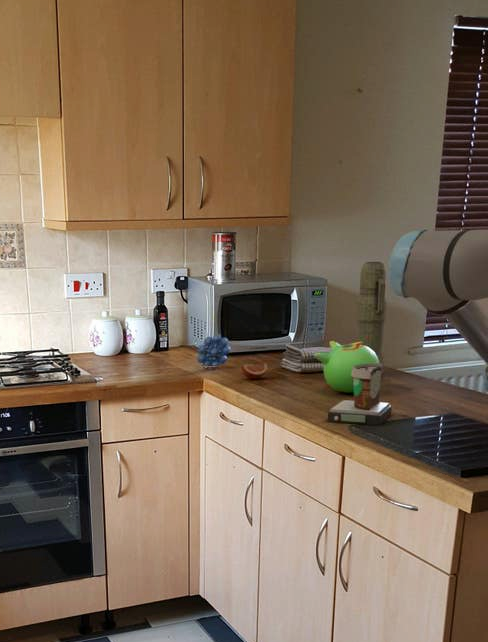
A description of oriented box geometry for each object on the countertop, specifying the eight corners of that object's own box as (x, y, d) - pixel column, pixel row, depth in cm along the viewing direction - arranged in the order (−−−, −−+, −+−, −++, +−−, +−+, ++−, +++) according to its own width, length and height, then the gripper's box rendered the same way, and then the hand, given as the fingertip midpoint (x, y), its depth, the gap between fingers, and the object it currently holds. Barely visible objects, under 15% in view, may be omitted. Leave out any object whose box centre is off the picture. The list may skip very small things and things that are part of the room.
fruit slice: (263, 376, 285) (263, 361, 283) (271, 379, 279) (271, 364, 277) (239, 378, 283) (239, 362, 281) (246, 381, 277) (246, 365, 275)
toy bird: (370, 399, 244) (373, 346, 240) (311, 396, 251) (313, 344, 246) (384, 388, 260) (386, 337, 255) (328, 385, 267) (329, 336, 262)
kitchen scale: (378, 426, 213) (379, 413, 212) (326, 422, 219) (327, 409, 218) (391, 415, 224) (391, 402, 223) (341, 411, 230) (342, 399, 229)
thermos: (368, 379, 273) (374, 263, 262) (345, 374, 283) (350, 262, 272) (391, 377, 277) (397, 261, 265) (367, 372, 287) (373, 261, 276)
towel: (301, 374, 286) (301, 350, 284) (279, 366, 303) (279, 343, 300) (343, 371, 290) (344, 347, 287) (319, 363, 307) (320, 341, 304)
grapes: (227, 366, 307) (226, 331, 303) (232, 369, 300) (232, 334, 296) (194, 368, 305) (194, 333, 301) (199, 371, 298) (198, 335, 294)
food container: (356, 400, 227) (358, 362, 224) (380, 402, 224) (382, 363, 221) (343, 410, 216) (345, 369, 213) (368, 411, 214) (370, 370, 211)
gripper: (547, 259, 173) (461, 334, 183) (550, 255, 194) (472, 322, 205) (521, 231, 173) (436, 308, 184) (527, 230, 195) (451, 299, 205)
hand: (455, 316), depth 194 cm, fingers open, 13 cm apart
